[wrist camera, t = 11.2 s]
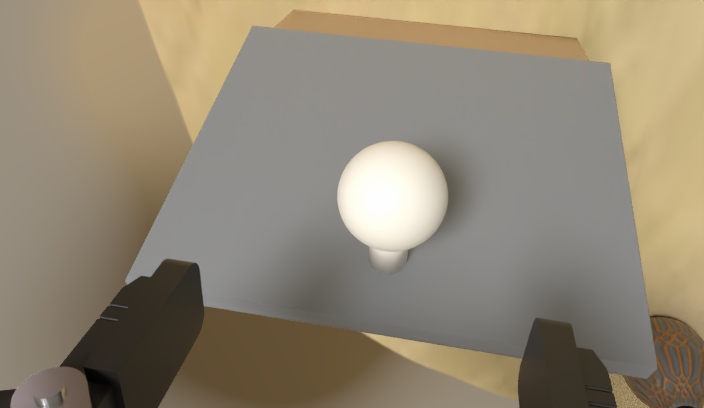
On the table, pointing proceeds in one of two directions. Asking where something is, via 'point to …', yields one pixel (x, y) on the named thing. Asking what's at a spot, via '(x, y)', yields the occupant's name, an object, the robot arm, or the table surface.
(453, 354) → the table surface
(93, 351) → the robot arm
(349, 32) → the mailer box
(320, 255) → the lid
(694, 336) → the vase
